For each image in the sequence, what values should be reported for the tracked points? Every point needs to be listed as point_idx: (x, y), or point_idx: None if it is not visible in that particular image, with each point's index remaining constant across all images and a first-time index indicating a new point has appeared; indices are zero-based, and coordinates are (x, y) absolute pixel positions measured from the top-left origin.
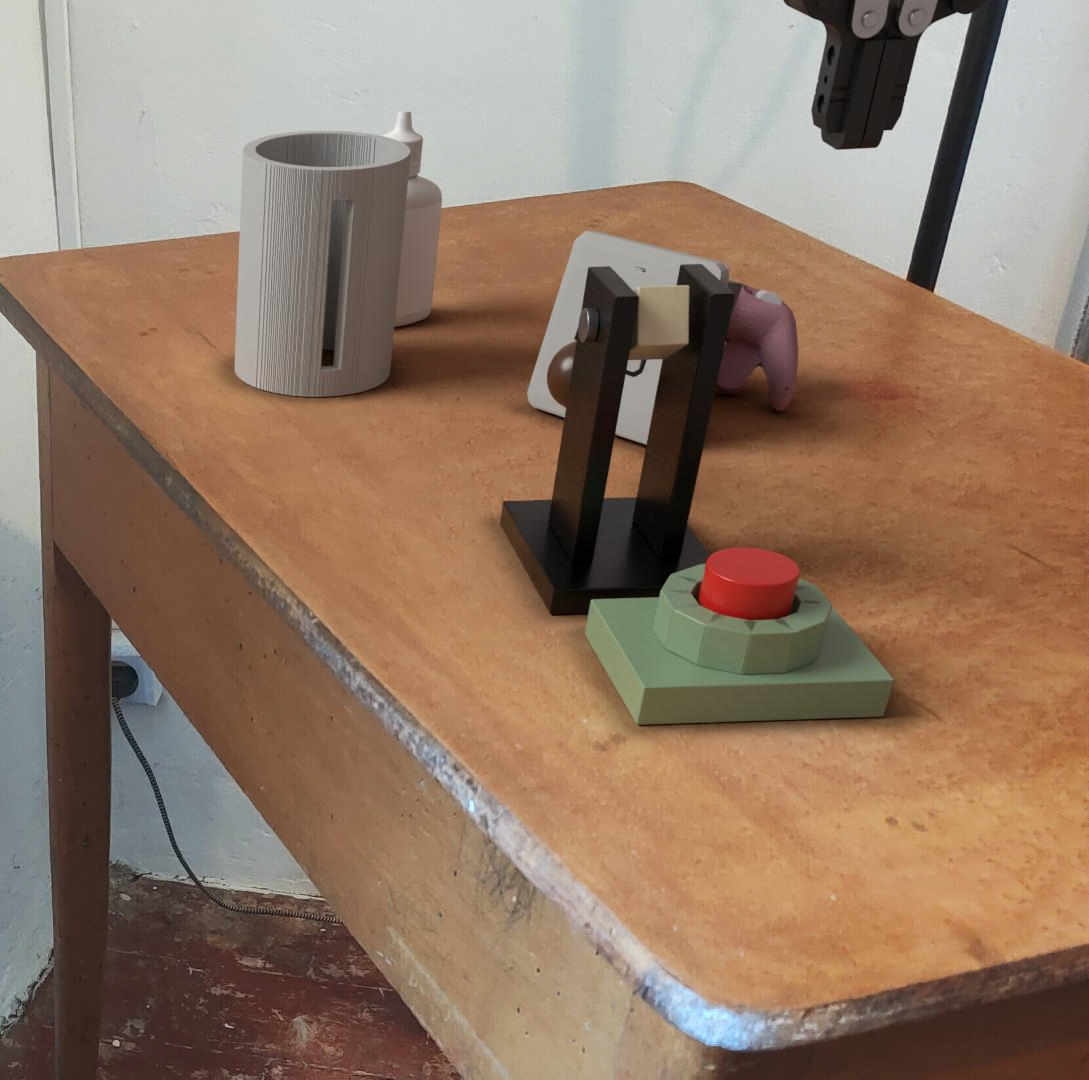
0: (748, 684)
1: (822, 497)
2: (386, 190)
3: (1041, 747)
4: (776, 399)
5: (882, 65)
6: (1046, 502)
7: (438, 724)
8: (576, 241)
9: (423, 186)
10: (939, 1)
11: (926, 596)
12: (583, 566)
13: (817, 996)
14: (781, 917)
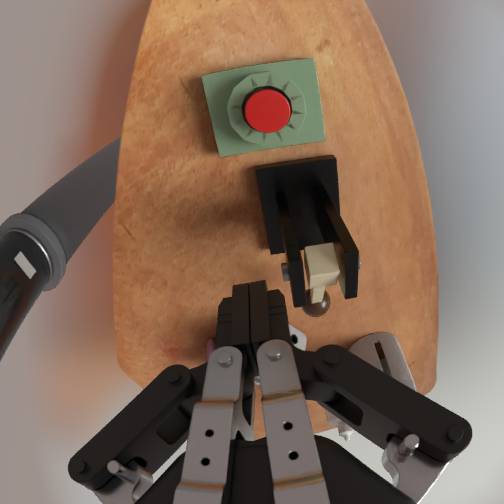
0: (267, 63)
1: (201, 274)
2: None
3: (145, 65)
4: (213, 341)
5: (247, 326)
6: (121, 276)
7: (387, 62)
8: None
9: (336, 420)
10: (201, 378)
11: (169, 190)
12: (319, 182)
13: None
14: None
